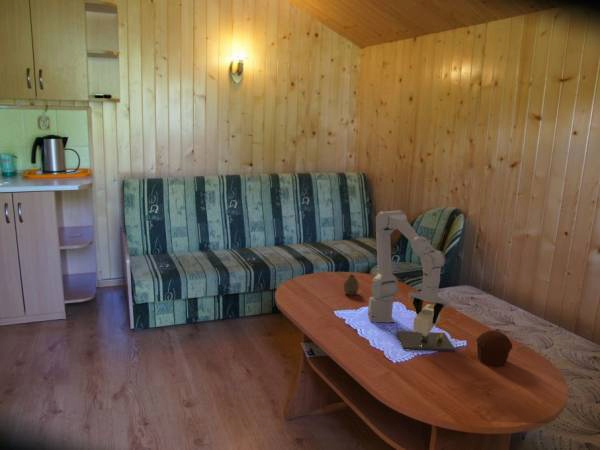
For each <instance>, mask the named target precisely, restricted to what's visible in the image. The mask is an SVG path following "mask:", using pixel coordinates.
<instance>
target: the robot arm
mask: <svg viewBox="0 0 600 450" xmlns="http://www.w3.org/2000/svg"><path fill="white" fill-rule="evenodd" d="M395 230H399V232H400V233H401V234H402V235H403V236H404V237H405V238H406V239H407V240H408V241H409V242H410V247H411V249H412V250H413V251H414V252H415V253H416V255H417V256H418V257H419V258H420V263H421V266H422V270H421V271H422V281H421V282H422V283H421V292H417V291H416V292H414V291H410V292H408V299H413V301H412V305H413V307H414V309H415V313H416V315H417V314H418V313H419V312H420V311H421V310H422V309H423V304H424V302H427V303H431V304H434V305H435V306H434V316H433V324H435V323H436V321H437V318H438V315H439V313H440V314H441V312H440V311H442V310H443V308H444V307H446V308H449V307H451V300H450V299H446V298H443V297H441V296H438V295H439V287H440V277H441V269H442V268H443V267H444V266H445V263H446V256H445V255H444V253H443V252H442V251H441V250H437V249H435V247H433V246H432V245H431V244H430V243H429V241H427V240H428V239H427V238H426V237H425V236H421V235H420V236H419V235H418V234H417V232H416V230H415V229H414V228H413V227H412V225H411V224H410V222H409V221H408V217H407V215H406V214H405V212H404V211H403V210H401V209H397V210H391V211H390V210H388V211H379V212H378V213H377V214H376V216H375V232H376V234H375V235H376V258H377V259H376V261H377V274H376V275H375V276H374V277H373V279H372V284H371V289H370V291H371V292H370V293H371V294H372V296H370V297H369V299H368V308H367V316H369V317H368V319H370V320H369V322H370V321H371V323H390V322H394V323H395V320H394V317H393V309H394V308H393V307H394V306H393V305H394V299H395V298H396V296H397V295H398V294H399V284H398V281H397V277H396V276H395V275H394V274H392V272H393V271H392V249H391V247H392V245H391V234H392V233H393V232H394V231H395ZM436 324H437V323H436Z"/></svg>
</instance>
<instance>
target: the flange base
mask: <svg viewBox="0 0 600 450" xmlns="http://www.w3.org/2000/svg"><path fill="white" fill-rule="evenodd" d="M396 333H397V334H396V336H397V338H399V339H398V341H399V340H400V341H399V343H400V342H401V343H400V345H401V348H402V347H403V348H402V350H403V349H409V350H408V351H426V352H427V351H429V352H431V351H432V352H454V353H455V352H456V348H455V346H454V345H453V344H452V342H451V340H450V339H449V338H448V336H447V335H446V333H445V332H432V331H430V332H429V333H428V334H423V333H419V332H415V331H406V330H405V331H403V330H397V331H396Z"/></svg>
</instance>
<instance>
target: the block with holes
mask: <svg viewBox="0 0 600 450" xmlns="http://www.w3.org/2000/svg"><path fill="white" fill-rule="evenodd" d="M435 305H436V304H430V303H427V304H426V305H425V306H424V307H422V310H421V311H420V312H419V313H418V314H417V313H416V315H415V316H414V317H413V318H414V319H413V326H412V327H413V328H412V330H413V331H412V332H419V333H423V334H428V333H429V332H432V330H433V329H434V327H435V326H436V324H438V322H439V321H440V320H441V311H442V310H441V311H440V313H439V315H438V318H437V321H436V323H435V324H433V316H434V306H435Z"/></svg>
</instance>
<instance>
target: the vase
mask: <svg viewBox="0 0 600 450" xmlns="http://www.w3.org/2000/svg"><path fill="white" fill-rule="evenodd" d="M359 287H360V283H359V280H358V279H357V278H356V276H355V275H354V274H349V275H348V277H347V278H346V279H345V280H344V282H343V292H344V293H345V294H346V295H348V296H356V294H357V293H358V292H359V289H360V288H359Z"/></svg>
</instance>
